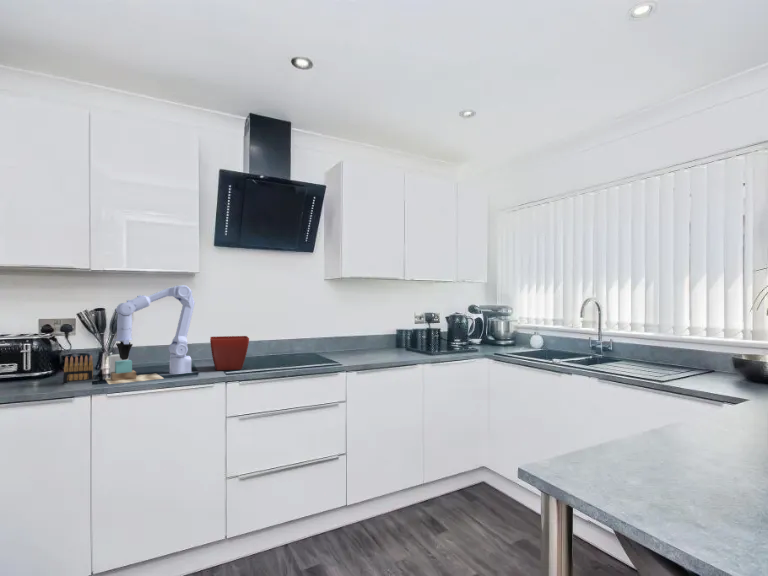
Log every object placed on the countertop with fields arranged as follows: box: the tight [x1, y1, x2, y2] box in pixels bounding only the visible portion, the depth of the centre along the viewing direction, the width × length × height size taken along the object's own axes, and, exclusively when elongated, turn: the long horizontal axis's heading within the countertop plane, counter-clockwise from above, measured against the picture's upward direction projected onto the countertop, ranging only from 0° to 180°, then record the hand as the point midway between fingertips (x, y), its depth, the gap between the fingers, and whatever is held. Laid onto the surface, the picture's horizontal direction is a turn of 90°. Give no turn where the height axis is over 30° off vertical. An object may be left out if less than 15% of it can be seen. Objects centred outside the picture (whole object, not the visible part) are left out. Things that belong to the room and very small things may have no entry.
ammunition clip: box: [62, 354, 94, 385], centre depth 182 cm, size 11×2×12 cm, turn 119°
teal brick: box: [115, 359, 133, 373], centre depth 185 cm, size 6×4×5 cm
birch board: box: [104, 373, 165, 385], centre depth 186 cm, size 21×17×1 cm
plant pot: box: [209, 335, 250, 371], centre depth 220 cm, size 19×19×17 cm
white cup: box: [108, 353, 129, 376], centre depth 199 cm, size 8×8×10 cm
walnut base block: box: [110, 369, 137, 381], centre depth 185 cm, size 9×7×3 cm
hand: (123, 359), depth 186 cm, fingers open, 5 cm apart
